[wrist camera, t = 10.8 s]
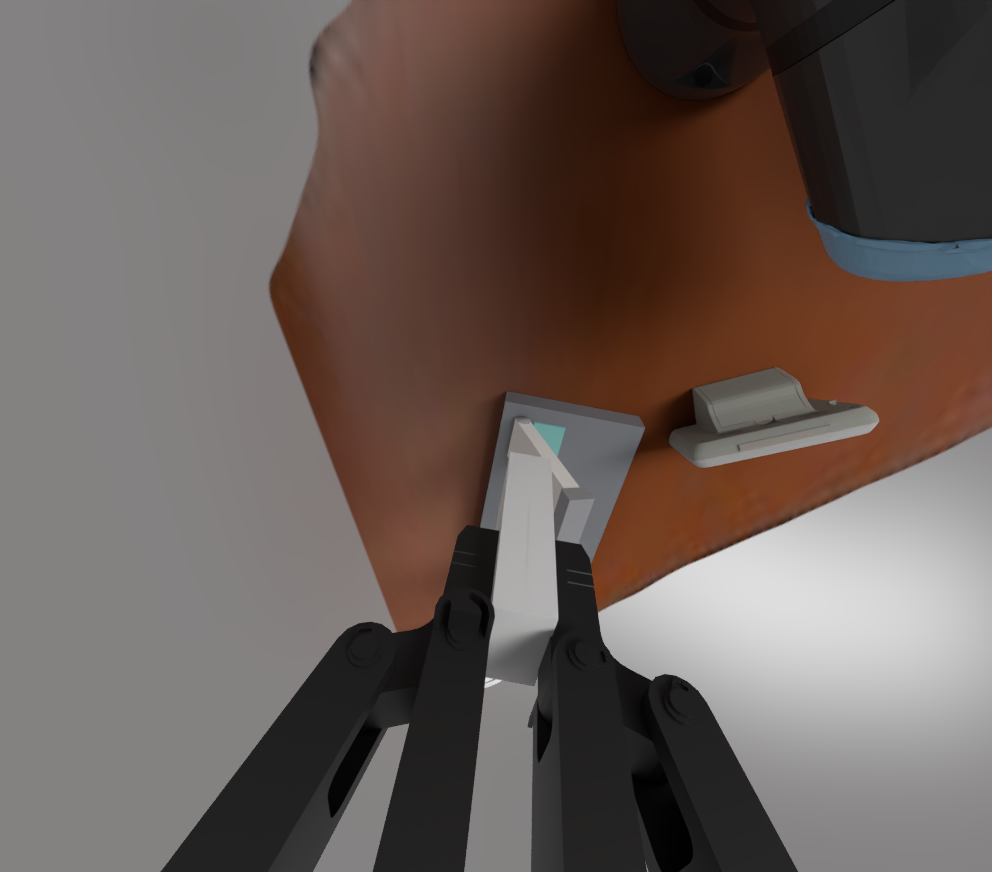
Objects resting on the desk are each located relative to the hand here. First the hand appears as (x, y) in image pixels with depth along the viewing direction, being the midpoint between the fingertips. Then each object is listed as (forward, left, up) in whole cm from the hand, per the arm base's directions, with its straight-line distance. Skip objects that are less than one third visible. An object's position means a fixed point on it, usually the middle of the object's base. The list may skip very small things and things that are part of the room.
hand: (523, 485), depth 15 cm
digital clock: (-11, +24, -32) cm, 42 cm away
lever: (+10, +10, -29) cm, 32 cm away
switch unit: (+12, +20, -32) cm, 39 cm away
